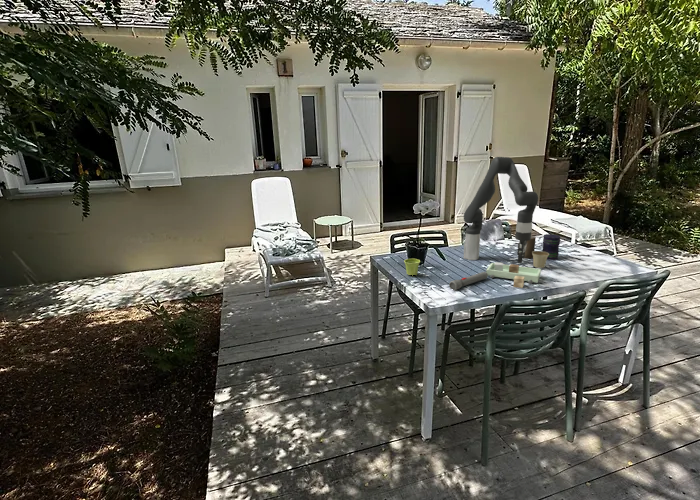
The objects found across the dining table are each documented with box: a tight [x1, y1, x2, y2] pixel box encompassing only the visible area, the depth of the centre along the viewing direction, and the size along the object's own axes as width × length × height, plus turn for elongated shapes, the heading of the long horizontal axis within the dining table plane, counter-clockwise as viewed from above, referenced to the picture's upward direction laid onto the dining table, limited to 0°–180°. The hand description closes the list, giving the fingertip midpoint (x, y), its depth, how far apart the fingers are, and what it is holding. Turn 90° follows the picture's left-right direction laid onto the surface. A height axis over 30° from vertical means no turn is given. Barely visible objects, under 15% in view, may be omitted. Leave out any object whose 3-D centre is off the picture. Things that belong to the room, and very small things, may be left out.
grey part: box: [494, 261, 504, 271], centre depth 224 cm, size 4×4×5 cm
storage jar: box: [541, 233, 561, 261], centre depth 251 cm, size 10×10×15 cm
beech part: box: [513, 276, 525, 289], centre depth 206 cm, size 4×4×5 cm
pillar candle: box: [518, 235, 536, 259], centre depth 255 cm, size 10×10×15 cm
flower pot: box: [532, 250, 549, 269], centre depth 236 cm, size 9×9×9 cm
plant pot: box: [403, 258, 421, 277], centre depth 228 cm, size 9×9×9 cm
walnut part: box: [509, 263, 520, 273], centre depth 220 cm, size 4×4×5 cm
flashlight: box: [449, 271, 489, 291], centre depth 212 cm, size 5×28×5 cm, turn 124°
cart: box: [485, 262, 542, 285], centre depth 220 cm, size 27×16×4 cm, turn 59°
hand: (521, 260), depth 203 cm, fingers open, 8 cm apart
